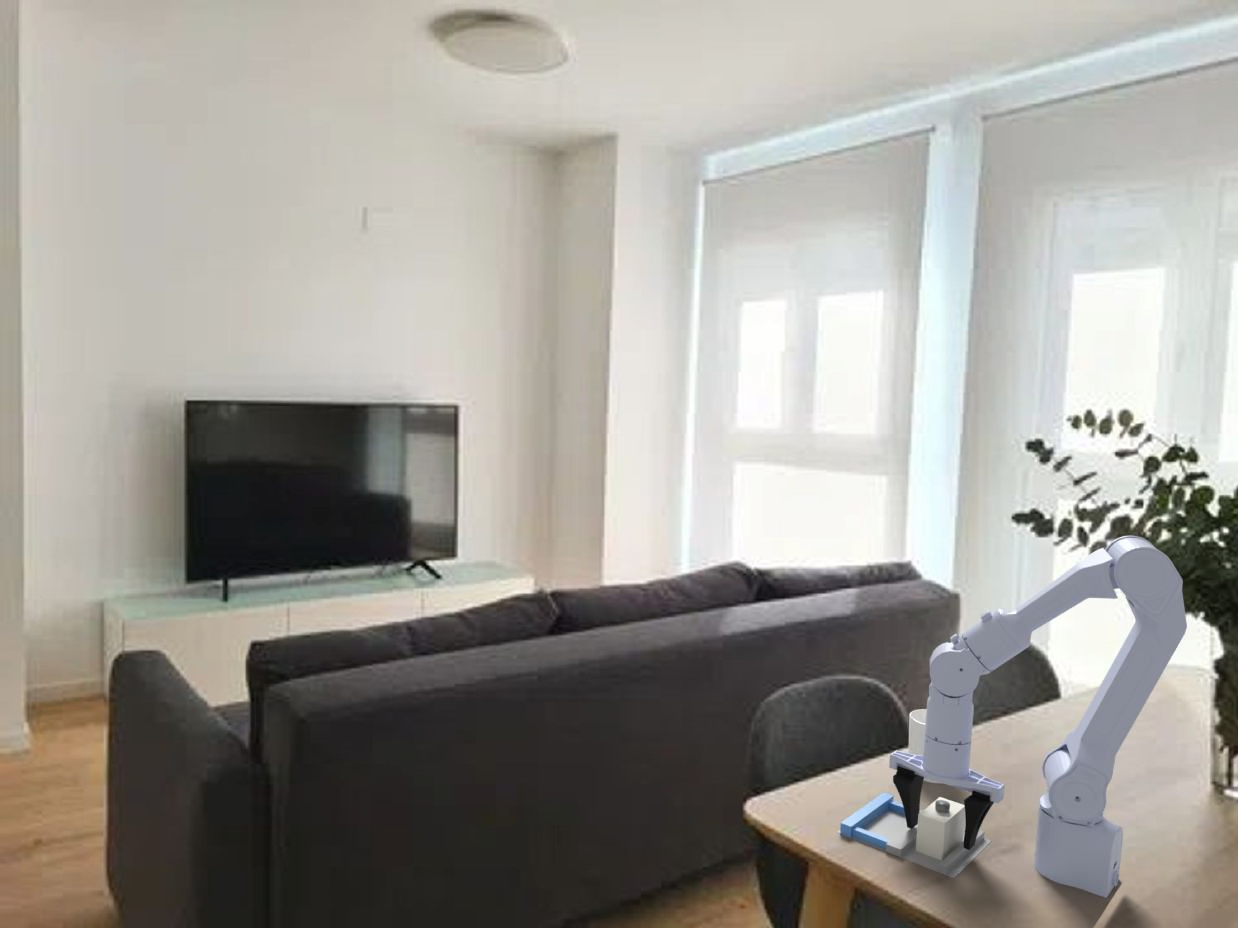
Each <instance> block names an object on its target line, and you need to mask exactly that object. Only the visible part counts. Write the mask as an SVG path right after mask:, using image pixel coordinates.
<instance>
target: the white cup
mask: <svg viewBox="0 0 1238 928" xmlns="http://www.w3.org/2000/svg"><path fill="white" fill-rule="evenodd" d="M926 712H927V708H921V709H914V710H912V711H910V713H909V715H908V716H909V717H908V719H909V721H908V726H909V727H908V753H909V754H915V755H920V756H923V753H924V740H925V726H926ZM924 781H925V782H928V783H932V784H941V785H942V783H940V782H936V781H933V780H931V779H929V778H926V777H924V780H923V782H924Z"/></svg>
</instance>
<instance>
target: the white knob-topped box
mask: <svg viewBox="0 0 1238 928" xmlns="http://www.w3.org/2000/svg"><path fill="white" fill-rule="evenodd" d="M921 811H922V812H920V813H919V814H918V826H917V839H916V851H918V852H920V853H923V854H925V855H928V856H931V857H933V858H936V859H938V860H941V861H942V860H943V859H944V858H945V857H947V856H948V855H949V854H950V853H951V852H952V851H953V850H954V849H955V848H956V847H957V846H958V845H959V844H961V843H962V842H963V832H964V831H965V828H964V827H965V806H964V804H963V803H959V802H956V801H953V800H950V799H947V798H945V797H941V796H939V797H937V799H935V800H934V801H933V802H931V803H930V804H929V805H928V806H926V807H925V808H923V810H921Z"/></svg>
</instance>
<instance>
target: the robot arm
mask: <svg viewBox="0 0 1238 928" xmlns="http://www.w3.org/2000/svg"><path fill="white" fill-rule="evenodd" d="M1183 583H1184V582H1183V578H1182V576H1181V575H1180V573H1179V572H1178V570H1177V568H1176V567H1175V565H1174V563H1173V562H1172V560H1171V559H1170V558H1169V557H1168V555H1166V554H1165V553H1164V551H1163V552H1162V551H1161V550H1159V548H1158V549H1157V548H1156V546H1154V545H1153V543H1152V542H1150V541H1149V540H1147V539H1146V538H1144V537H1141V536H1136V535H1123V536H1121V537H1120V536H1119V537H1118V538H1116V539H1113V540H1112V541H1111V542H1110V543H1109V544H1108V545H1107V547H1106V548H1104V547H1101V548H1099V549H1096V550H1095V551H1093V552H1091V553H1090V554H1089V555H1088V556H1086V557H1085V558H1083V559H1082V560H1080V561H1079V562H1078V563H1077V564H1075V565H1074V566H1073V567H1071V568H1069V569H1068V570H1067V571H1065V572H1064V573H1063V574H1062V575H1060V576H1059V577H1056V579H1055V580H1054V581H1052V582H1050V583H1049V584H1048V585H1047V586H1045V587H1044V588H1042V589H1041V590H1040V591H1038V592H1037V593H1036V594H1035V595H1033V596H1032V597H1031V598H1030V599H1028V600H1026V601H1025V602H1024V603H1022V604H1021V605H1020V606H1019V607H1018V608H1016V609H1007V608H998V609H996V610H994V611H993V612H991V610H990V609H987V610H986V611H984V612H983V613H982V614H980V619H981V620H980V621H979V622H978V623H975V624H974V625H972V626H971V627H970V628H968V629H967V630H965V631H963V632H962V633H961V634H960V635H959V634H958V633H955V634H953V635H952V636H950V642H943V643H940V644H939V645H937V646H936V647H935V649H933V652H932V653H931V656H930V657H929V658H928V659H929V660H928V662H929V677H930V680H931V682H930V684H929V686H928V688H929V689H928V694H929V696H928V697H927V700H926V701H927V703H926V709H927V712H926V726H925V740H924V753H923V756H920V755H915V754H909V752H903V751H900V750H897V749H896V750H895V751H893V752H891V753H890V754H889V764H888V767H889V769H892V770H895V771H896V772H895V774H894V775H893V776H892V782H893V784H894V786H895V788H896V790H897V793H898V795H899V797H900V800H901V804H903V807H904V812H905V817H906V823H907V827H908V828H910V829H912V828H913V827H915V826H916V825H917V824H918V814H919V811H920V809H921V808H920V804H921V795H922V789H923V784H924V781H923V780H924V777H926V778H929V779H931V780H933V781H936V782H940V783H941V784H943V785H944V784H945V785H948V786H951V787H953V788H957V789H959V790H963V791H966V792H969V793H971V795H969V796H967V797H966V798H965V799H964V800H963V805H964V806H965V819H964V821H965V824H964V827H965V828H964V831H965V834H964V848H965V849H967V850H970V849H971V848H972V847H973V846H974V845H975V841H976V838H977V834H978V831H979V829H980V830H981V826H982V824H983V821H984V820H985V818H986V816H987V814H988V813H989V811H990V809H991V808H992V806H993V805H994V803H996V804H999V803H1000V802H1002V801H1003V799H1004V798H1005V797H1004V795H1005V785H1006V784H1005V783H1002V782H999V781H997V780H995V779H991V778H989V777H988V776H986V775H984V774H982V773H980V772H977V771H975V770H973V769H971V768H970V761H971V749H972V736H973V723H974V722H973V721H974V710H975V706H974V705H975V704H974V703H973V695H974V691H975V690H976V689H977V687H978V684H979V683H980V682H979V681H980V677H981V676H984V675H989V674H990V673H992V672H993V671H995V670H996V669H997V668H999V667H1000V666H1002V665H1003V664H1005V663H1006V662H1008V661H1010V660H1011V659H1012V658H1014V657H1015V656H1017V655H1018V654H1020V653H1022V652H1023V651H1024V650H1026V649H1027V648H1029V647H1030V645H1031V639H1032V634H1033V632H1035V631H1036V630H1037V629H1039V628H1041V627H1043V626H1044V625H1046V624H1047V623H1049V622H1051V621H1053V620H1054V619H1056V618H1057V617H1059V616H1060V615H1062V614H1064V613H1065V612H1067V611H1069V610H1071V609H1072V608H1074V607H1076V606H1077V605H1079V604H1080V603H1082V602H1084V601H1085V600H1087V599H1112V600H1115V599H1118V595H1117V593H1116V589H1120V591H1121V592H1122V594H1123V595H1124V596H1125V599H1126V601H1127V603H1128V606H1129V609H1130V610H1131V612H1132V614H1133V617H1134V618H1135V622H1134V624H1133V626H1132V627H1131V629H1130V631H1129V633H1128V635H1127V637H1126V638H1125V640H1124V642H1123V644H1122V646H1121V647H1120V649H1119V651H1118V653H1117V654H1116V656H1115V658H1114V660H1113V662H1112V664H1110V667H1109V669H1108V670H1107V672H1106V674H1105V676H1104V678H1103V680H1102V682H1101V683H1100V685H1099V687H1098V689H1097V690H1096V692H1095V694H1094V695H1093V697H1092V700H1091V701H1090V703H1089V705H1088V706H1087V709H1086V711H1084V714H1083V716H1082V718H1081V720H1080V721H1079V723H1078V725H1077V727H1076V728H1075V729H1073V730H1072V731H1071V732H1069V733H1068V734H1066V736H1065V738H1064V739H1063V741H1062V743H1060V745H1058V746H1057V747H1056V748H1054V749H1052V750H1050V751H1049V752H1048V753H1047V754H1046V755H1045V757H1044V759H1043V760H1042V761H1043V762H1042V767H1041V768H1042V769H1041V770H1042V775H1043V778H1044V779H1045V782H1046V785H1047V789H1046V791H1045V793H1044V794H1043V795H1042V796H1040V798H1039V804H1038V815H1037V823H1036V824H1037V825H1036V827H1037V828H1036V837H1035V849H1034V859H1033V861H1034V862H1033V866H1034V869H1035V870H1036V871H1037V872H1038V874H1040V875H1041V876H1043V877H1045V878H1046V879H1048V880H1050V881H1052V882H1055V883H1058V884H1061V885H1063V886H1069V887H1073V888H1077V889H1080V890H1083V891H1086V892H1089V893H1091V894H1094V895H1097V896H1099V897H1103V898H1105V899H1106V898H1108V896H1109V895H1110V893H1111V892H1112V890H1114V888H1115V887H1116V886H1118V883H1119V879H1120V871H1121V863H1122V862H1121V861H1122V859H1121V858H1122V850H1123V849H1122V848H1123V840H1124V838H1123V837H1124V832H1123V827H1122V826H1121V825H1119V824H1117V823H1114V822H1112V821H1111V820H1108V819H1107V818H1106V817H1104V811H1105V809H1106V805H1107V788H1108V786H1109V784H1110V783H1111V780H1112V779H1113V774H1114V768H1115V761H1116V756H1117V754H1118V752H1119V750H1120V748H1121V747H1122V745H1123V743H1124V741H1125V740H1126V738H1127V736H1128V734H1129V733H1130V731H1131V729H1132V728H1133V725H1134V724H1135V723H1136V721H1137V718H1138V717H1139V715H1140V714H1141V712H1142V710H1143V709H1144V707H1145V704H1147V703H1146V702H1147V701H1148V699H1149V698H1150V696H1151V694H1152V692H1153V691H1154V688H1155V687H1156V685H1157V683H1158V681H1159V680H1160V678H1161V677H1162V674H1164V671H1165V669H1166V668H1167V666H1168V664H1169V662H1170V661H1171V659H1172V657H1173V656H1174V654H1175V652H1176V651H1177V648H1178V646H1179V644H1181V642H1182V640H1183V638H1184V636H1185V634H1186V630H1187V628H1188V623H1187V616H1186V611H1185V603H1184V602H1185V601H1184V593H1183ZM940 783H939V784H940Z"/></svg>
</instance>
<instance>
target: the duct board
mask: <svg viewBox="0 0 1238 928" xmlns="http://www.w3.org/2000/svg"><path fill="white" fill-rule="evenodd" d="M922 811H923V810H920V811H919V813H920V812H922ZM917 826H918V824H917V825H916V826H915V827H913V828H912V829H910V828H908V827H907V823H906V817H905V812H904V807H903V804H902V802H898V801H895V800H894V795H893V794H891V793H887V792H882V793H881V794H879V795H878V796H876V797H875V798H874V799H872V800H870V801H869V802H868V803H866V805H864V806H862V807H861V808H860V809H858V810H857V811H855V812H854V813H853V814H851V815H850V816H849V817H847V818H845V819H844V820H843V821H841V822H840V827H839V828H840V829H839V830H838V831H836V833H837V834H839V835H841V836H845V837H847V838H850V839H852V840H855V841H857V842H860V843H862V844H865V845H866V846H867V845H868V846H870V847H872V848H875V849H878V850H879V851H883V852H885V853H888V854H890V855H893V856H896V857H898V858H901V859H903V860H906V861H909V862H911V863H912V864H915V865H919V866H921V867H923V868H926V869H929V870H931V871H934V872H937V873H938V874H941V875H944V876H947V877H949V878H952V879H956V877H957V876H958V875H959V874H960V873H961V872H962V871H963V870H965V868H967V867H968V866H969V865H970V863H971V862H973V861H974V859H975V858H977V856H978V855H980V853H982V852H983V850H984V849H986V848H987V847H988V846H989V845H990V844H991V843H992V840H991V839H987V838H985V834H986V831H984V830H982V829H981V828H980V829H979V831H978V834H977V838H976V841H975V845H974V846H973V847H972V848H971V849H970V850H967V849H965V848H964V834H965V830H964V832H963V842H962V843H961V844H959V845H958V846H957V847H956V848H955V849H954V850H953V851H952V852H951V853H950V854H949V855H948V856H947V857H945V858H944V859H943V860H942V861H941V860H938V859H936V858H933V857H931V856H928V855H925V854H923V853H920V852H918V851H916V839H917Z"/></svg>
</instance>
